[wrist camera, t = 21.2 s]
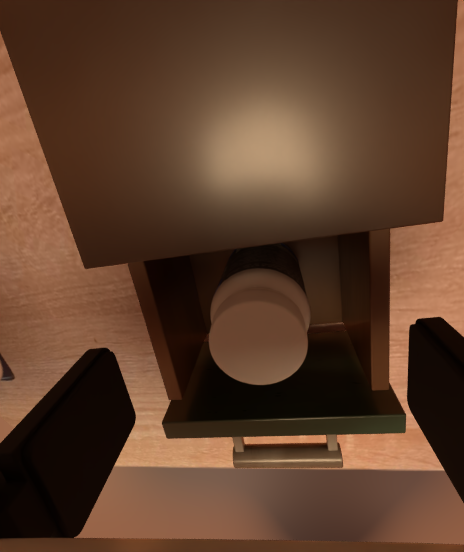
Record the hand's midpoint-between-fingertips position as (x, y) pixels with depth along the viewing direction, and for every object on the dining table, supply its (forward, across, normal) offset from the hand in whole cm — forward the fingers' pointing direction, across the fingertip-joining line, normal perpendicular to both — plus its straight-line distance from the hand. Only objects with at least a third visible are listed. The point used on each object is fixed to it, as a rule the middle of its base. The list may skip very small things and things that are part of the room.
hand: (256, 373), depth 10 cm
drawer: (+12, 0, +3) cm, 12 cm away
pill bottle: (+11, 0, 0) cm, 11 cm away
